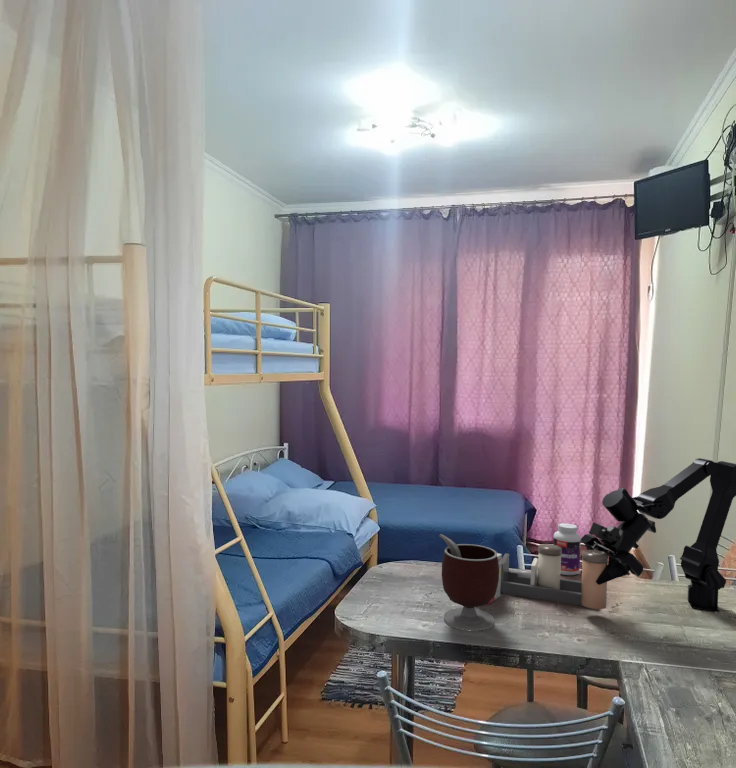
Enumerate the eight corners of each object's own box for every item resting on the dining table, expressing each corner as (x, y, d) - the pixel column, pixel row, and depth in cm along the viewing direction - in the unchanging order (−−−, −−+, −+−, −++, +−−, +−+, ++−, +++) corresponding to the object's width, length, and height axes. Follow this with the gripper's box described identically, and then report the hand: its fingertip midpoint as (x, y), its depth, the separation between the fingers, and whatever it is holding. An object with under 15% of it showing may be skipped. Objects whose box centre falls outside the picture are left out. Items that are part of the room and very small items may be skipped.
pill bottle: (551, 574, 185) (553, 527, 185) (552, 566, 193) (553, 521, 193) (580, 577, 183) (581, 530, 183) (579, 569, 191) (580, 523, 190)
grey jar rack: (595, 594, 170) (596, 565, 170) (594, 607, 160) (595, 577, 160) (504, 580, 179) (505, 553, 179) (497, 592, 170) (498, 563, 170)
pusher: (537, 586, 174) (538, 558, 174) (533, 594, 168) (534, 566, 167) (519, 583, 176) (520, 555, 176) (515, 591, 170) (516, 563, 169)
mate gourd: (506, 618, 153) (508, 538, 152) (483, 638, 141) (486, 552, 140) (450, 603, 161) (452, 528, 161) (424, 620, 150) (426, 540, 149)
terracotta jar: (606, 602, 157) (608, 551, 156) (606, 611, 151) (608, 558, 150) (581, 598, 159) (582, 548, 158) (580, 606, 153) (581, 555, 153)
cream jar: (561, 591, 171) (562, 545, 171) (559, 599, 166) (560, 551, 165) (538, 588, 174) (539, 542, 173) (535, 595, 168) (537, 548, 168)
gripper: (587, 503, 164) (550, 547, 162) (634, 521, 146) (592, 570, 144) (612, 531, 166) (575, 574, 164) (661, 552, 148) (620, 600, 146)
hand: (589, 578), depth 154 cm, fingers closed on terracotta jar, 6 cm apart
